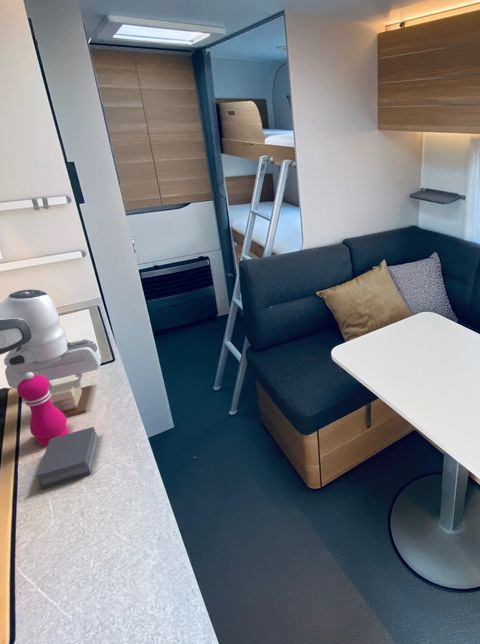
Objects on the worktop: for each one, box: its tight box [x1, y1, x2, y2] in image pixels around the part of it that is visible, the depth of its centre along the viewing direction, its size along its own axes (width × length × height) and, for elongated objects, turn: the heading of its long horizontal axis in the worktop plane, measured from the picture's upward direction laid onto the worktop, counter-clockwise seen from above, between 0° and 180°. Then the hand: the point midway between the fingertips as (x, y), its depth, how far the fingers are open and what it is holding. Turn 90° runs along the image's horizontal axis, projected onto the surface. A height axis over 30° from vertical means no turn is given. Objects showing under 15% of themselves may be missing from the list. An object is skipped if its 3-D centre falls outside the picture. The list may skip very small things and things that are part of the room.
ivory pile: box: [52, 384, 94, 418], centre depth 114 cm, size 10×12×5 cm
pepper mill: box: [16, 372, 69, 446], centre depth 100 cm, size 7×7×20 cm
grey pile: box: [36, 426, 99, 490], centre depth 96 cm, size 9×12×4 cm
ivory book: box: [49, 375, 78, 402], centre depth 113 cm, size 6×8×2 cm
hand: (63, 389), depth 113 cm, fingers closed on ivory book, 5 cm apart
